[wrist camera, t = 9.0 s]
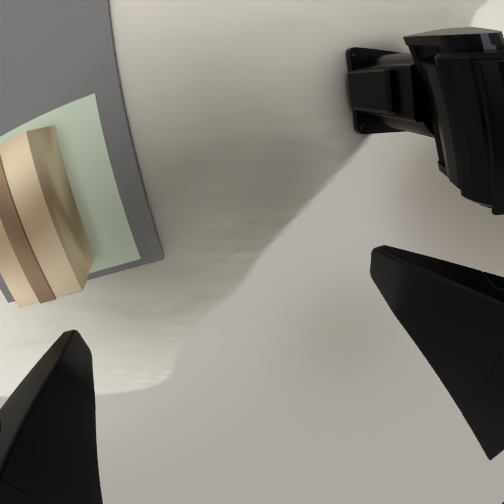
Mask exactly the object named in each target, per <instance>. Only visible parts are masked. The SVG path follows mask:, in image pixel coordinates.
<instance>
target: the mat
mask: <svg viewBox="0 0 504 504" xmlns="http://www.w3.org/2000/svg"><path fill="white" fill-rule="evenodd" d="M53 125H55V130H56V134H57V138H58V143H59V147H60V151H61V155H62V159H63V162H64V166H65V170H66V173H67V177H68V180H69V183H70V187H71V190H72V193H73V196H74V199H75V203H76V206H77V209H78V212H79V214H80V217H81V220H82V223H83V226H84V228H85V231H86V234H87V236H88V239H89V242H90V244H91V247H92V249H93V252H94V254H95V259H94V262H93V264H92V267H91V269H90V272H89V275H88V277H87V280H89V279H93V278H96V277H100V276H103V275H107V274H111V273H114V272H118V271H122V270H125V269H129V268H132V267H136V266H140V265H143V264H147V263H151V262H155V261H158V260H162V259H164V253H163V250H162V247H161V244H160V241H159V237H158V234H157V231H156V228H155V224H154V221H153V218H152V214H151V211H150V207H149V204H148V200H147V197H146V193H145V190H144V186H143V182H142V178H141V175H140V171H139V167H138V163H137V159H136V155H135V151H134V146H133V142H132V138H131V133H130V129H129V124H128V120H127V115H126V110H125V105H124V100H123V95H122V90H121V84H120V79H119V73H118V67H117V60H116V54H115V47H114V40H113V32H112V24H111V15H110V5H109V0H0V145H1V144H3V143H5V142H6V141H8V140H10V139H12V138H14V137H16V136H18V135H20V134H22V133H24V132H26V131H29V130H34V129H38V128H43V127H48V126H53ZM0 289H1V291H2V293H3V294H4V296H5V298H6V300H7V301H8V303H9V302H13V301H15V299H14V298H13V296H12V294H11V292H10V290H9V289H8V287H7V285H6V283H5V281H4V279H3V277H2V275H1V273H0Z"/></svg>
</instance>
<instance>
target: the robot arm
mask: <svg viewBox="0 0 504 504" xmlns="http://www.w3.org/2000/svg"><path fill="white" fill-rule="evenodd" d="M403 38H404V41H405V44H406V45H408V47H409V49H410V52H411V53H398V52H392V51H384V50H377V49H368V48H357V47H353V48H349V49H348V50H347V61H348V68H349V83H350V92H351V102H352V107H353V115H354V128H355V131H356V132H357V133H359V134H374V133H388V132H404V131H409V132H413V133H417V134H421V135H426V136H429V137H433V138H435V141H436V146H437V152H438V157H439V161H438V166H439V170H440V171H441V172H442V173H444V174H445V175H446V176H447V177H448V178H449V179H450V181H451V182H452V183H453V184H454V185H455V186H456V187H458V188H459V189H460V190H461V195H462V196H464V197H465V198H466V199H468V200H471V201H473V202H475V203H478V204H480V205H482V206H486V207H489V208H492V213H493V214H494V215H502V214H504V38H503V34H502V32H501V31H497V30H490V29H483V28H475V27H467V28H450V29H441V30H435V31H430V32H424V33H419V34H414V35H409V36H405V37H403ZM353 52H354V53H355V57H354V56H353ZM361 125H363V129H362V130H361V128H360V127H361ZM370 274H371V277H372V279H373V281H374V283H375V284H376V286H377V287H378V289H379V290H380V292H381V294H382V295H383V297H384V299H385V300H386V302H387V303H388V305H389V307H390V309H391V310H392V312H393V313H394V315H395V316H396V318H397V319H398V320H399V321H400V323H401V324H402V326H403V327H404V328H405V330H406V331H407V333H408V334H409V335H410V337H411V338H412V339H413V341H414V342H415V344H416V345H417V346H418V348H419V349H420V351H421V352H422V354H423V355H424V356H425V358H426V359H427V361H428V362H429V364H430V365H431V367H432V368H433V369H434V371H435V372H436V374H437V375H438V377H439V378H440V380H441V381H442V382H443V384H444V386H445V387H446V389H447V390H448V392H449V394H450V395H451V397H452V398H453V400H454V401H455V403H456V405H457V406H458V408H459V409H460V411H461V412H462V414H463V416H464V418H465V419H466V421H467V423H468V424H469V426H470V427H471V429H472V431H473V433H474V434H475V436H476V438H477V440H478V441H479V443H480V445H481V447H482V448H483V450H484V452H485V454H486V456H487V457H488V459H489V460H492V459H493V458H494V457H495V456H497V455H498V454H499V453H500V452H502V451H503V450H504V277H500V276H496V275H494V274H490V273H487V272H482V271H479V270H476V269H473V268H469V267H466V266H462V265H458V264H455V263H451V262H448V261H444V260H440V259H437V258H433V257H429V256H425V255H421V254H417V253H414V252H410V251H406V250H402V249H398V248H394V247H390V246H386V245H383V246H379V247H376V248H374V249H373V250H372V253H371V265H370ZM95 416H96V415H95V391H94V380H93V366H92V354H91V351H90V349H89V347H88V346H87V344H86V343H85V341H84V340H83V338H82V336H81V335H80V333H79V332H78V331H77V330H70V331H66V332H64V333H63V334H62V335H61V336H60V337H59V338H58V339H57V340H56V342H55V343H54V344H53V345H52V346H51V347H50V348H49V350H48V351H47V352H46V353H45V354H44V355H43V357H42V358H41V359H40V360H39V361H38V362H37V364H36V365H35V366H34V367H33V368H32V370H31V371H30V372H29V373H28V374H27V376H26V377H25V378H24V379H23V381H22V382H21V383H20V384H19V386H18V387H17V388H16V389H15V391H14V392H13V393H12V394H11V396H10V397H9V398H8V400H7V401H6V402H5V404H4V405H3V406H2V408H1V409H0V504H103V502H102V495H101V487H100V479H99V470H98V459H97V443H96V420H95V419H96V417H95ZM502 504H504V502H503V503H502Z"/></svg>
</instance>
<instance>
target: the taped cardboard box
mask: <svg viewBox="0 0 504 504" xmlns="http://www.w3.org/2000/svg"><path fill="white" fill-rule="evenodd" d="M94 259H95V254H94V252H93V249H92V247H91V244H90V242H89V239H88V236H87V234H86V231H85V228H84V226H83V223H82V220H81V217H80V214H79V212H78V209H77V206H76V203H75V199H74V196H73V193H72V190H71V187H70V183H69V180H68V177H67V173H66V170H65V166H64V162H63V159H62V155H61V151H60V147H59V143H58V138H57V134H56V130H55V125H53V126H48V127H43V128H38V129H34V130H29V131H26V132H24V133H22V134H20V135H18V136H16V137H14V138H12V139H10V140H8V141H6V142H5V143H3V144H1V145H0V273H1V275H2V277H3V279H4V281H5V283H6V285H7V287H8V289H9V290H10V292H11V294H12V296H13V298H14V299H15V301H16V303H17V305H18V306H19V308H20V307H24V306H27V305H31V304H35V303H39V302H40V303H44V302H47V301H51V300H55V299H56V298H57V297H61V296H65V295H69V294H72V293H76V292H80V291H83V288H84V286H85V283H86V280H87V277H88V275H89V272H90V269H91V267H92V264H93V262H94Z"/></svg>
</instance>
